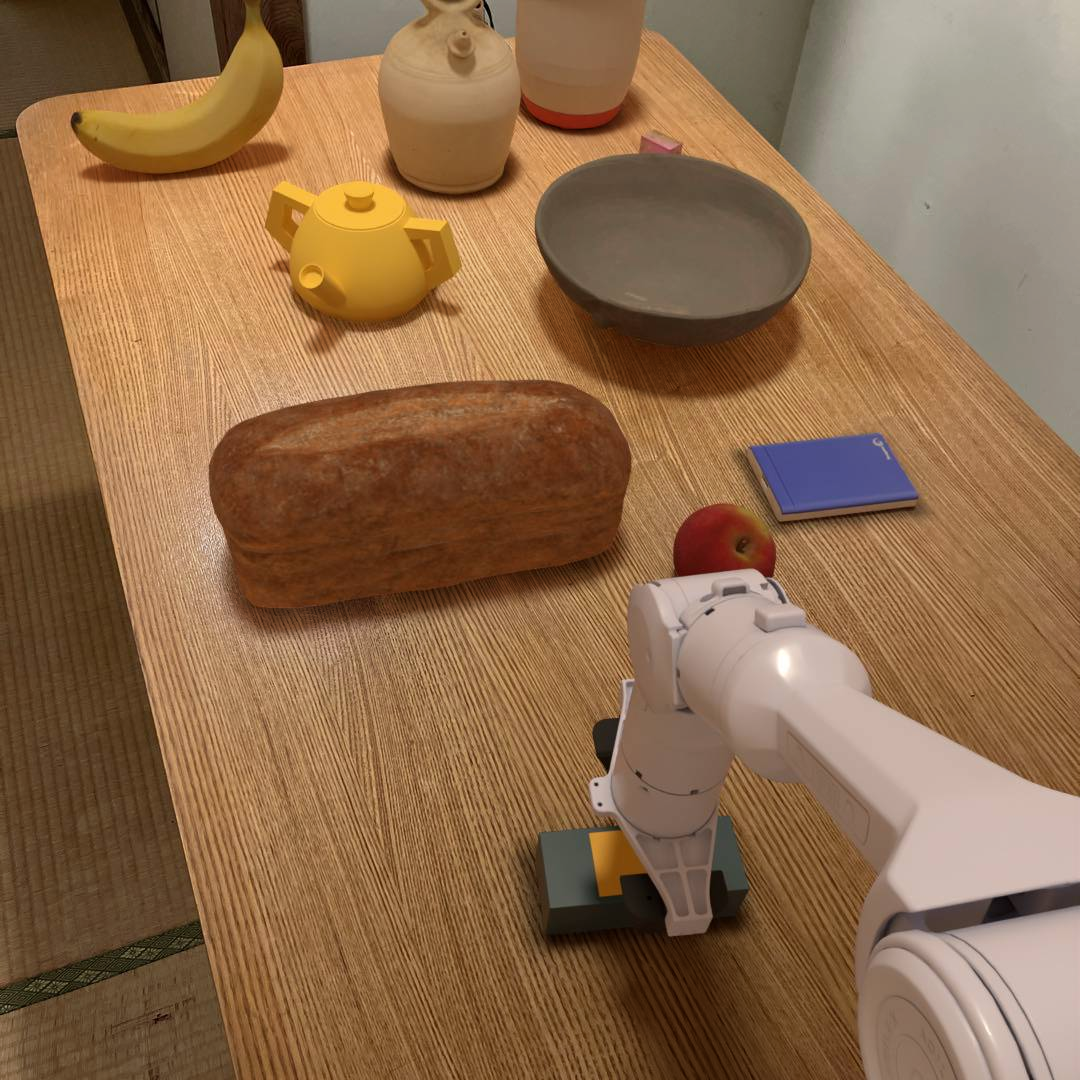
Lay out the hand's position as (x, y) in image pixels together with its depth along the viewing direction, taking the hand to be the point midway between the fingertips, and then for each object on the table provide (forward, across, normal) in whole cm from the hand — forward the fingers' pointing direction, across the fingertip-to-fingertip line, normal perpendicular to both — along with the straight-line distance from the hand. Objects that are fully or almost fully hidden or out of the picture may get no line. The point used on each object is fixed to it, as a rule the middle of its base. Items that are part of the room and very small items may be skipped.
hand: (640, 865), depth 65 cm
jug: (+3, -88, -5) cm, 88 cm away
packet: (+3, 0, 0) cm, 3 cm away
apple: (+3, -24, +11) cm, 26 cm away
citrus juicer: (+3, -103, +11) cm, 103 cm away
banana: (+3, -88, -34) cm, 95 cm away
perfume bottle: (+3, -84, +21) cm, 86 cm away
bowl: (+3, -60, +14) cm, 61 cm away
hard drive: (+3, -35, +24) cm, 42 cm away
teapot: (+3, -63, -16) cm, 65 cm away
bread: (+3, -30, -11) cm, 32 cm away
